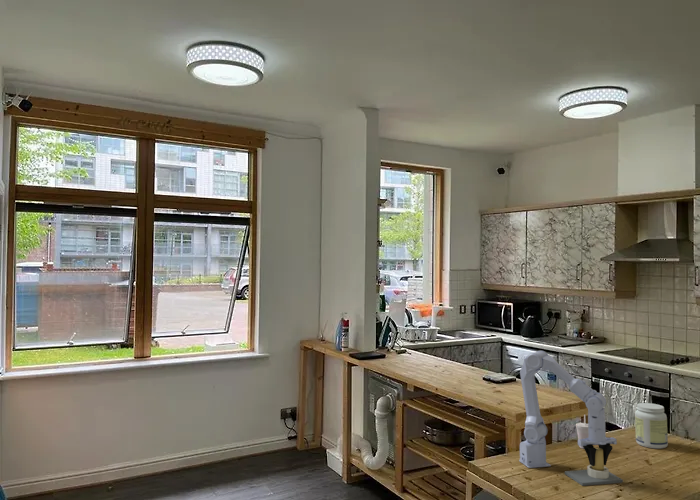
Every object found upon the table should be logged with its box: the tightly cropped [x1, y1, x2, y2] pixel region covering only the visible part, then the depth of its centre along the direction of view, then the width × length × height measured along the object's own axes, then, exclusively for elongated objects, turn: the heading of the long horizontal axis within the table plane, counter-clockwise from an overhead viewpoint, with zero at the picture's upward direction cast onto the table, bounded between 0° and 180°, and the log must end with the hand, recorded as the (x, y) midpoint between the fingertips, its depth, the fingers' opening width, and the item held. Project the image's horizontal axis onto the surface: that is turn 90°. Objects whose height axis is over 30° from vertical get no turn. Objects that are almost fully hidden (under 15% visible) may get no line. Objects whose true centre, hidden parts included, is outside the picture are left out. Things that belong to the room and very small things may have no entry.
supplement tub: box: [634, 402, 669, 449], centre depth 227 cm, size 12×12×17 cm
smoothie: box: [575, 414, 589, 450], centre depth 224 cm, size 6×6×14 cm
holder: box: [564, 464, 624, 487], centre depth 190 cm, size 16×11×4 cm
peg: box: [592, 447, 605, 471], centre depth 191 cm, size 4×4×8 cm
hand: (597, 464), depth 191 cm, fingers closed on peg, 4 cm apart
